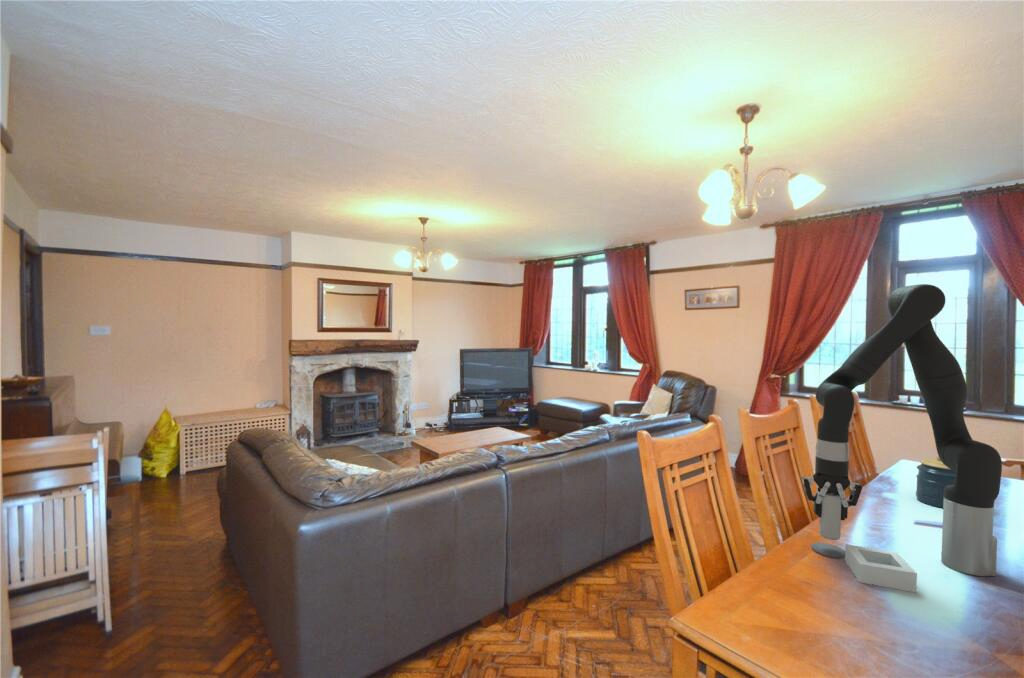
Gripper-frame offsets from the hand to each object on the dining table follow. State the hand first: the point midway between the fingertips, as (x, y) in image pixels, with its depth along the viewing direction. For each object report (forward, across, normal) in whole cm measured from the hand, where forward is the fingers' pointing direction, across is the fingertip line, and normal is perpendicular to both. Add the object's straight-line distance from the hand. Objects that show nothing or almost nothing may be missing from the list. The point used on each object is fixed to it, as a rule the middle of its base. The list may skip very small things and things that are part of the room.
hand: (830, 517), depth 126 cm
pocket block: (+9, -8, +10) cm, 16 cm away
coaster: (+10, 0, 0) cm, 10 cm away
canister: (+10, -48, -59) cm, 77 cm away
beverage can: (+6, 0, 0) cm, 6 cm away
